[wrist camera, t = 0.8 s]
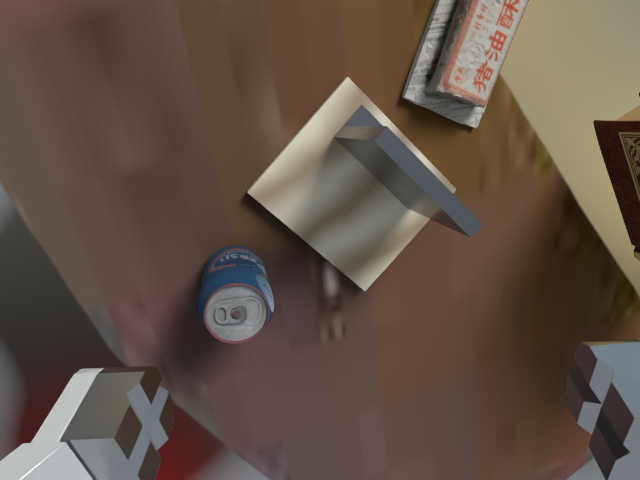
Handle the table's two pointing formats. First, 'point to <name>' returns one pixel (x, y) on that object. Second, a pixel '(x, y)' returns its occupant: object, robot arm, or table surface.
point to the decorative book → (624, 167)
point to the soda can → (235, 295)
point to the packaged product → (462, 56)
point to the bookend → (403, 172)
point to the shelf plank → (339, 192)
